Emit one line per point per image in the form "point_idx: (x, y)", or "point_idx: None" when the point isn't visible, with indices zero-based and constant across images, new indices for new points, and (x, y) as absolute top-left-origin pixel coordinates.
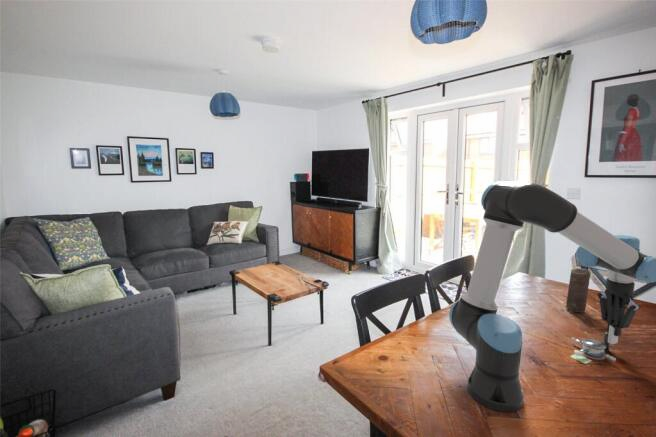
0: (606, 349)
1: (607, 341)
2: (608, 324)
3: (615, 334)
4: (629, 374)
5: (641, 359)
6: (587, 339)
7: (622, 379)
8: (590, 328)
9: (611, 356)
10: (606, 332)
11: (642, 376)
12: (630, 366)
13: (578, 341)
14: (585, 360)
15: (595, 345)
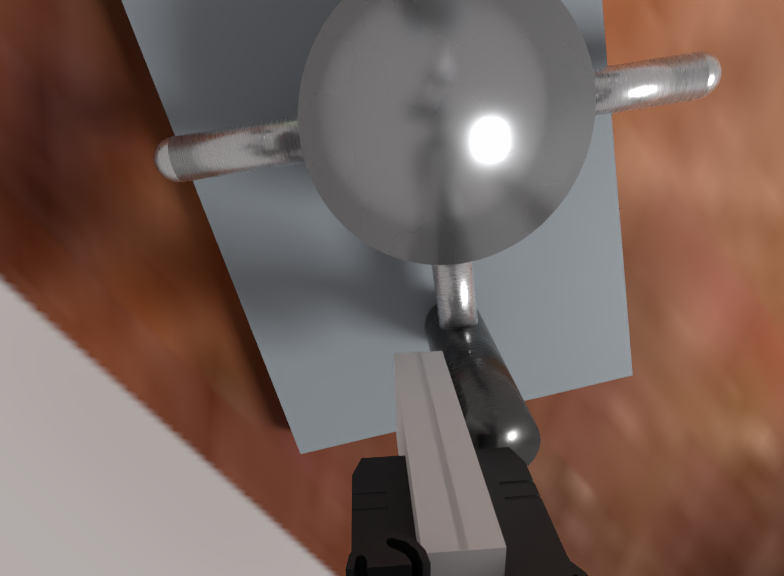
0: (434, 314)
1: (450, 360)
2: (550, 561)
3: (383, 471)
4: (105, 200)
5: (309, 492)
6: (560, 136)
7: (15, 40)
8: (778, 525)
9: (211, 153)
10: (520, 441)
11: (75, 285)
12: (227, 327)
13: (620, 69)
14: None
15: (391, 90)
